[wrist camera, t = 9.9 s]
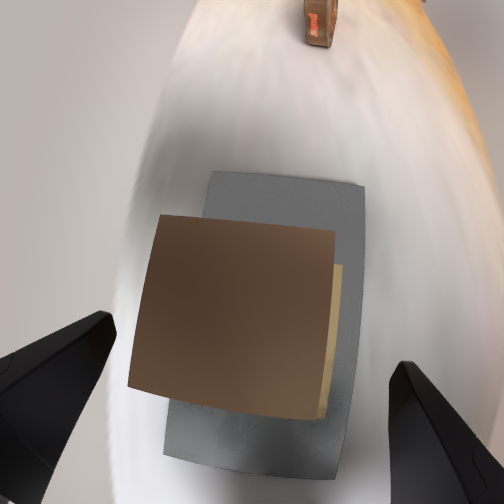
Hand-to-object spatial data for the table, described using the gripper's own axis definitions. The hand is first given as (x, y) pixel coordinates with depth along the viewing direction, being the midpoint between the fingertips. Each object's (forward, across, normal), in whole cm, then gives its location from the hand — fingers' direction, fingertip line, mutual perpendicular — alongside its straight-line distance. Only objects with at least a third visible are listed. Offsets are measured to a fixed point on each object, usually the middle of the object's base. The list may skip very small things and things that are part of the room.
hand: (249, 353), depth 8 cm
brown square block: (+7, 0, +6) cm, 10 cm away
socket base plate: (+9, 0, +6) cm, 11 cm away
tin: (+33, -2, -18) cm, 38 cm away
